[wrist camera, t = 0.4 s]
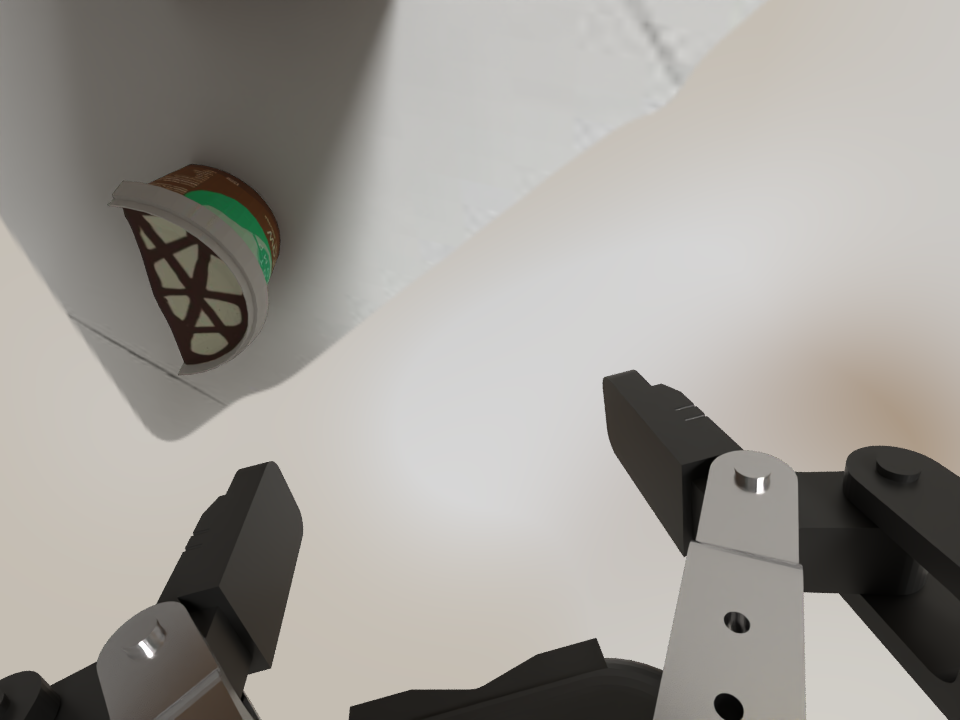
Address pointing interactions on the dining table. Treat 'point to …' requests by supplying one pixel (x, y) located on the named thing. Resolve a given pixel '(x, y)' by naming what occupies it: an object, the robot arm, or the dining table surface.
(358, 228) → the dining table surface
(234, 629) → the robot arm
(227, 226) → the food container
